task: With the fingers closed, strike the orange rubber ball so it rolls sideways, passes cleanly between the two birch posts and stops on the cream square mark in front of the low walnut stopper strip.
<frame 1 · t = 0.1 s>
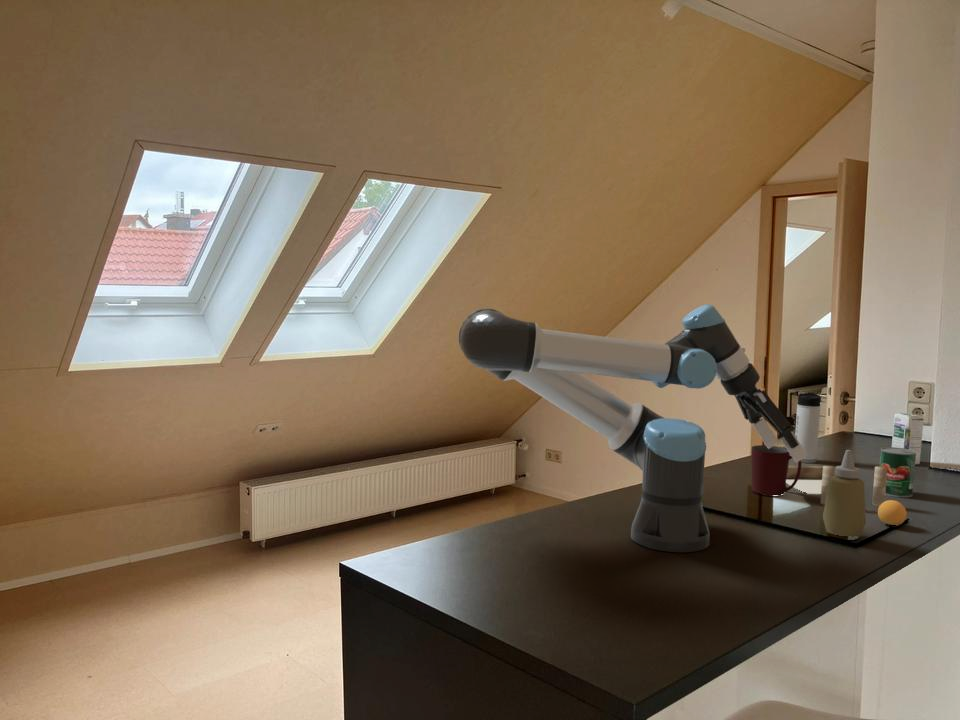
hand: (786, 451, 171), 15 cm above the worktop, tool tilted 35°, fingers open, 13 cm apart
ball: (892, 513, 172), on the worktop
canned tomato: (894, 494, 200), on the worktop
post 1: (826, 504, 187), on the worktop
travel mug: (805, 461, 235), on the worktop
mug: (774, 494, 196), on the worktop
syrup box: (904, 463, 236), on the worktop
stopper strip: (801, 477, 214), on the worktop
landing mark: (819, 487, 204), on the worktop
post 2: (878, 505, 188), on the worktop
squeeze bottle: (842, 537, 163), on the worktop
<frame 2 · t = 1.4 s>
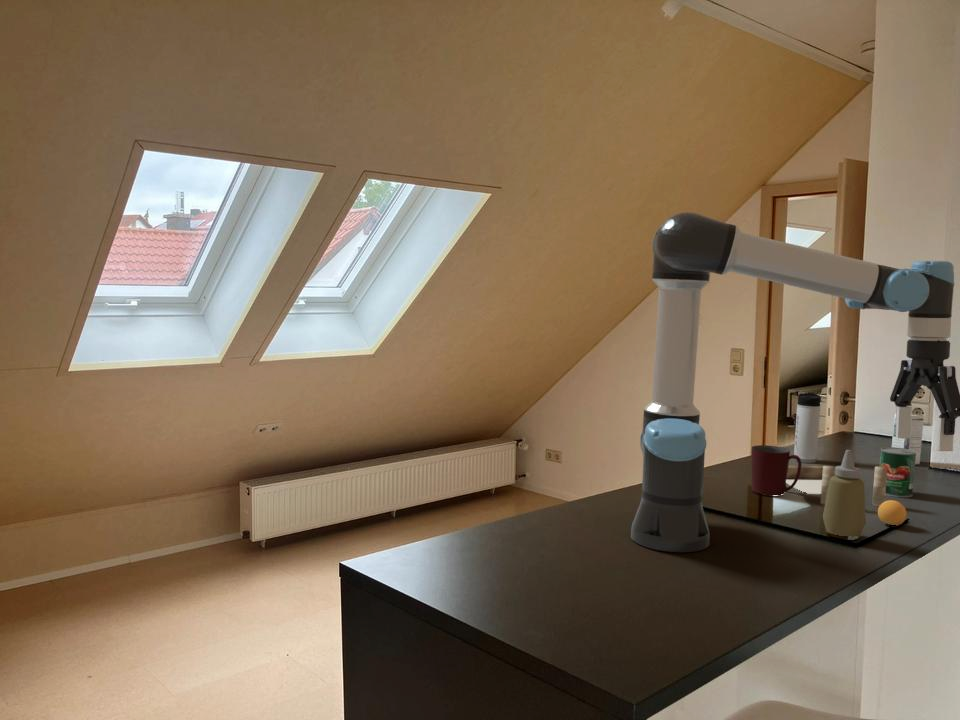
hand: (922, 444, 160), 20 cm above the worktop, tool pointing down, fingers open, 13 cm apart
nothing on the worktop moved.
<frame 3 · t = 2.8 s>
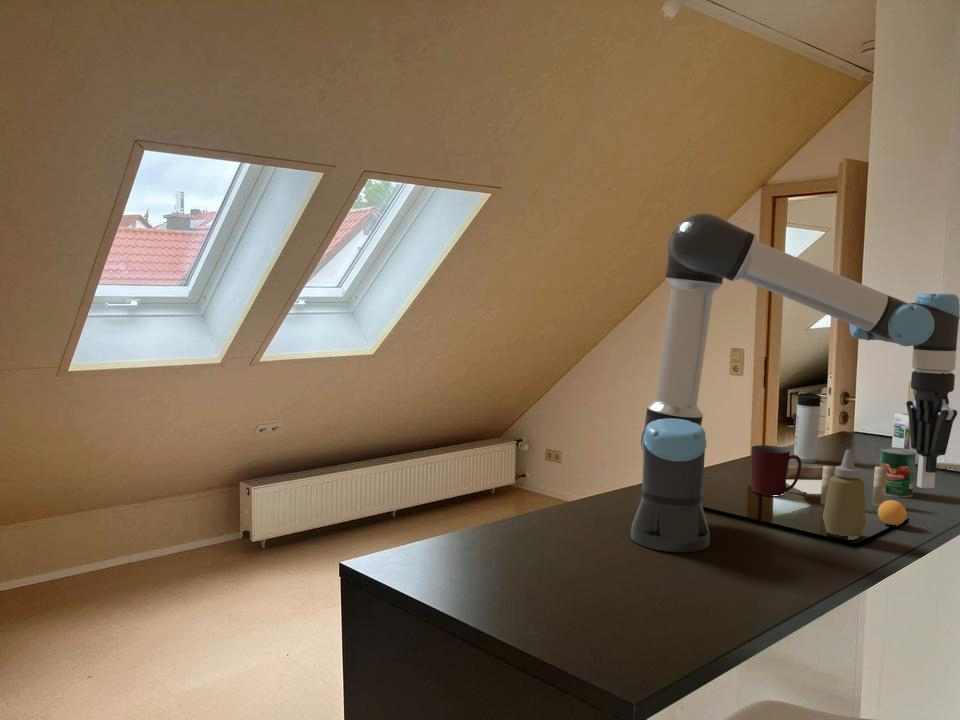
hand: (925, 486, 161), 11 cm above the worktop, tool pointing down, fingers closed
nothing on the worktop moved.
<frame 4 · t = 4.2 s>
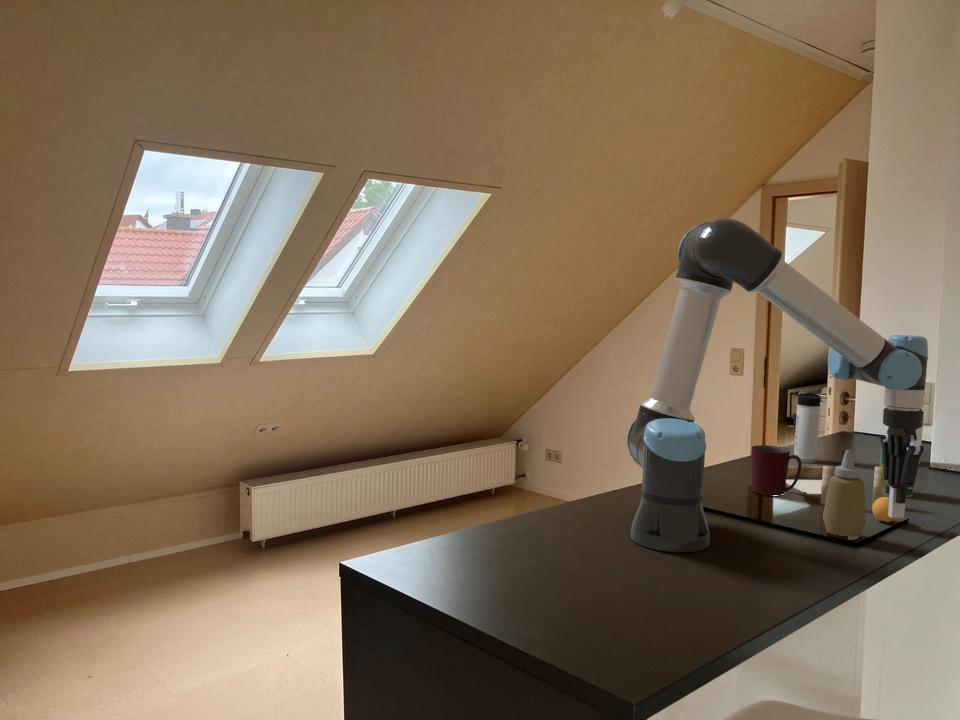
hand: (896, 516, 171), 2 cm above the worktop, tool pointing down, fingers closed
ball: (886, 509, 174), on the worktop
everything else where it was.
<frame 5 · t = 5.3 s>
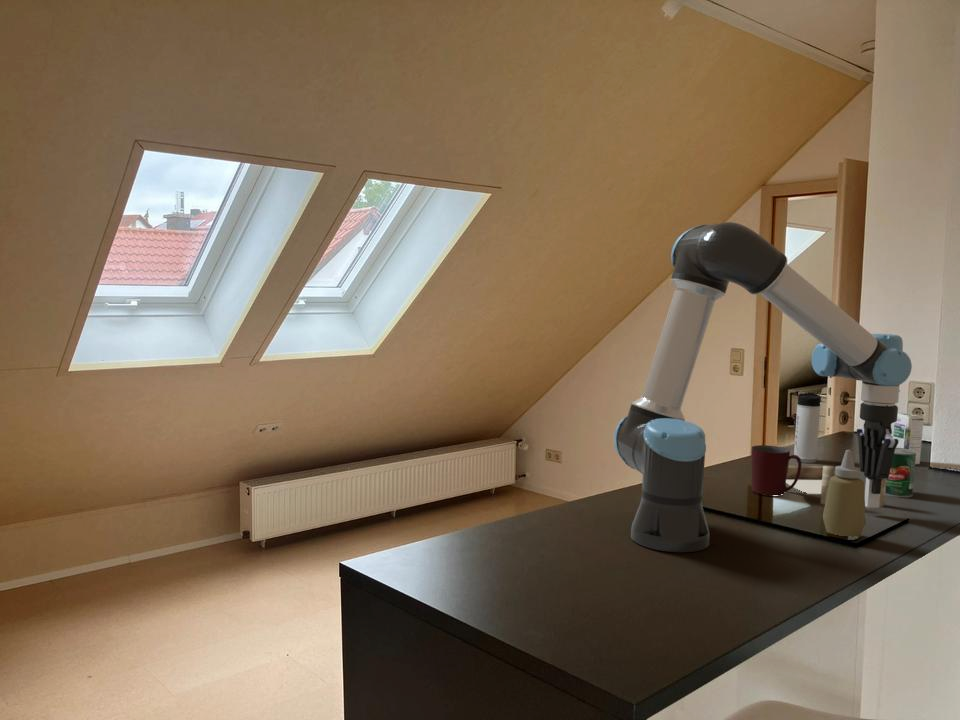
hand: (871, 506, 180), 2 cm above the worktop, tool pointing down, fingers closed
ball: (844, 489, 191), on the worktop
everything else where it was.
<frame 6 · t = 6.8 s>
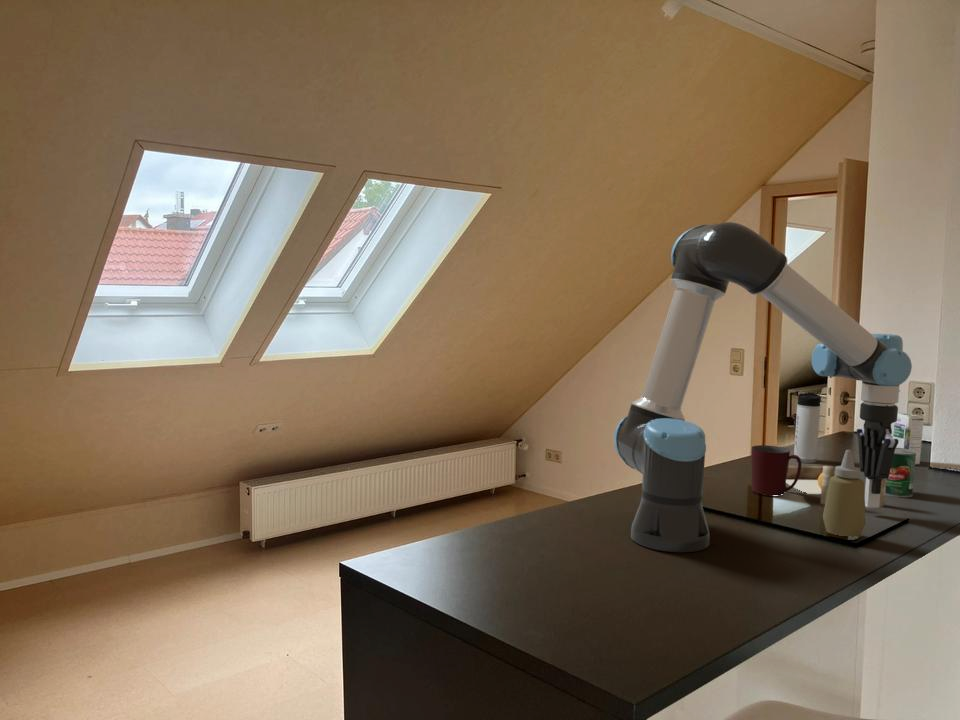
hand: (871, 506, 180), 2 cm above the worktop, tool pointing down, fingers closed
ball: (829, 481, 198), on the worktop
everything else where it was.
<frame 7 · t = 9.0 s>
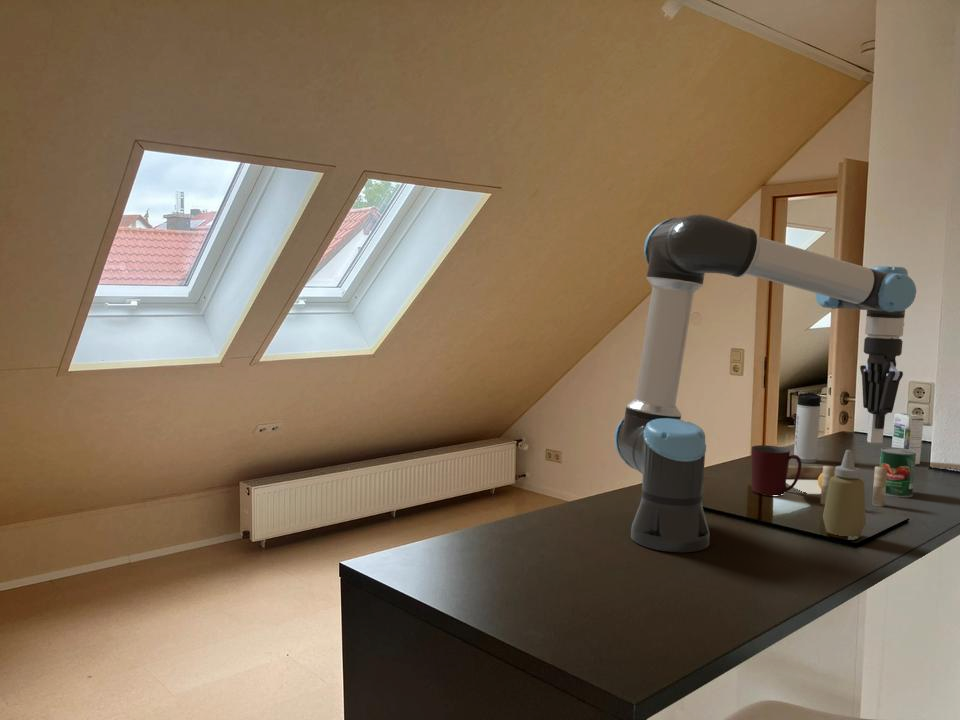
hand: (874, 442, 178), 17 cm above the worktop, tool pointing down, fingers closed
nothing on the worktop moved.
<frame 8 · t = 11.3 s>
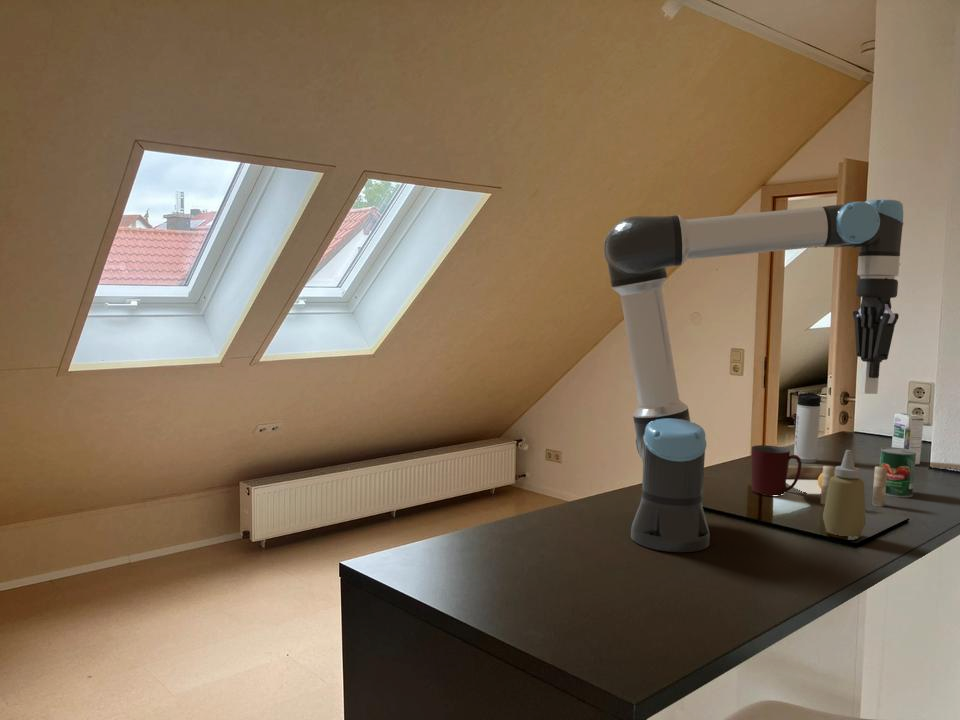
hand: (869, 393, 163), 29 cm above the worktop, tool pointing down, fingers closed
nothing on the worktop moved.
at the end: ball 5.0 cm from the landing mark (horizontally); ball never touched post 1; ball never touched post 2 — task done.
